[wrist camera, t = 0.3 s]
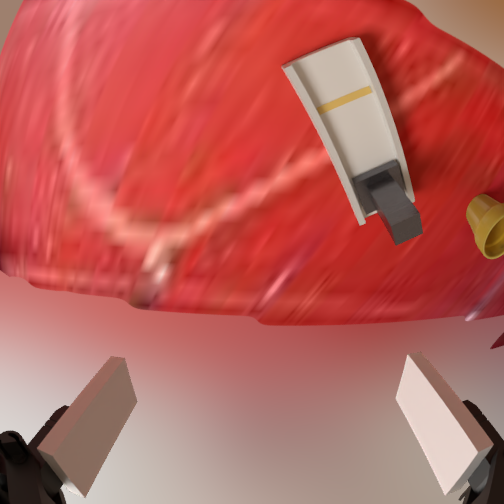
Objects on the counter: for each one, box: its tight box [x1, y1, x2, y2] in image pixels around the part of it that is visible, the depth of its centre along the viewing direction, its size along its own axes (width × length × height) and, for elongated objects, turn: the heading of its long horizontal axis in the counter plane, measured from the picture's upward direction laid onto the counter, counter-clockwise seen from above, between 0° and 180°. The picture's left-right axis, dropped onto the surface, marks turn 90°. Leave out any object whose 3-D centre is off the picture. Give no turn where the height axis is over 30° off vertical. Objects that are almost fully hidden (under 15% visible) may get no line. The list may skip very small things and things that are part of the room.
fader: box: [352, 160, 423, 245], centre depth 35 cm, size 6×7×10 cm
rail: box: [281, 37, 415, 225], centre depth 35 cm, size 26×10×3 cm, turn 30°
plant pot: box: [466, 194, 504, 259], centre depth 40 cm, size 10×10×10 cm
